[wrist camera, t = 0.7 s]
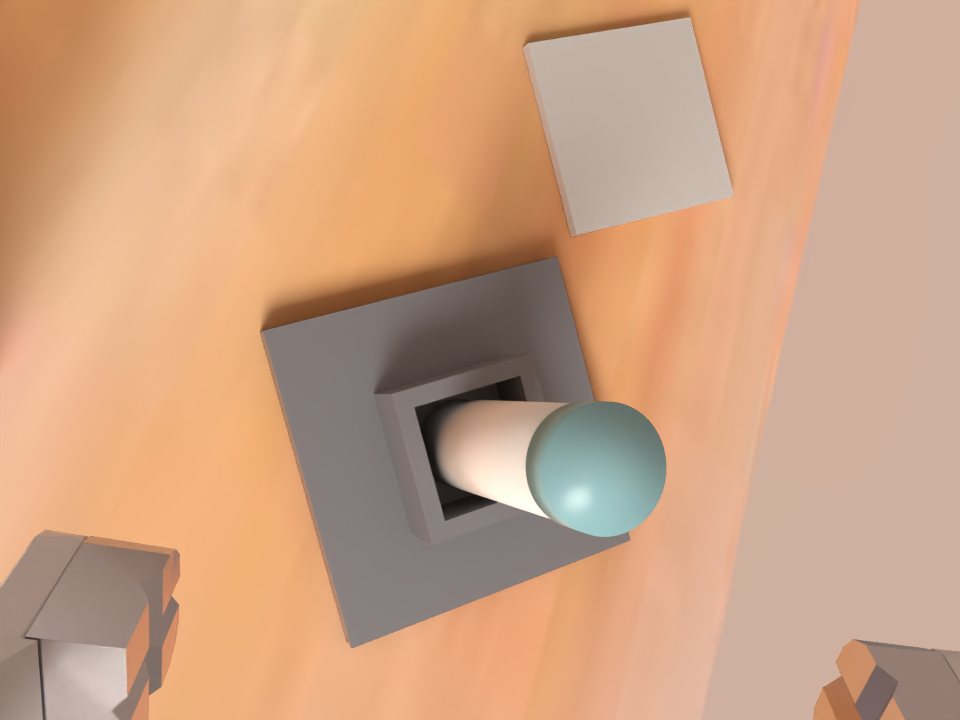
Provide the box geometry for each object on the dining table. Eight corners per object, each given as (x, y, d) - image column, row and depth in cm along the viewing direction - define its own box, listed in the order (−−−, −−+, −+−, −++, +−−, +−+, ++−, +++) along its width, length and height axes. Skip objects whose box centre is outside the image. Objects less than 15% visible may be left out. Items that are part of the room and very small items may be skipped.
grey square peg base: (259, 332, 49) (271, 325, 44) (547, 259, 55) (587, 246, 50) (346, 641, 50) (368, 669, 45) (618, 536, 56) (665, 551, 51)
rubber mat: (522, 47, 55) (527, 43, 54) (683, 21, 59) (690, 17, 58) (571, 236, 56) (576, 234, 55) (726, 198, 60) (733, 196, 59)
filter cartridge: (405, 412, 50) (531, 423, 33) (488, 386, 52) (647, 385, 35) (429, 500, 51) (565, 556, 34) (511, 472, 52) (679, 511, 35)
